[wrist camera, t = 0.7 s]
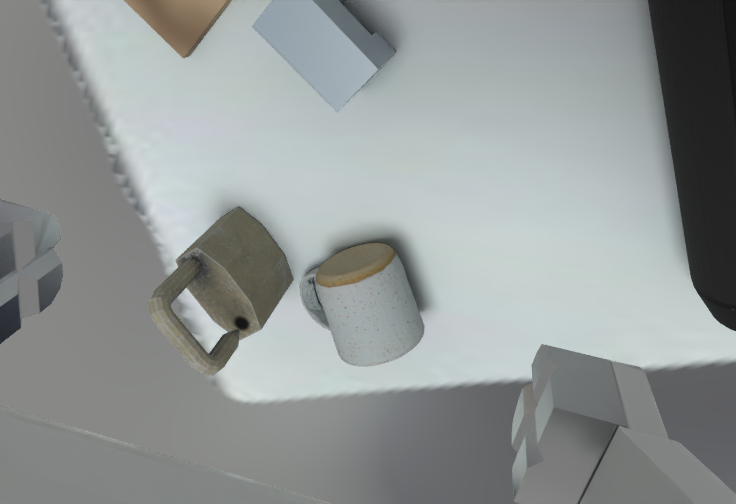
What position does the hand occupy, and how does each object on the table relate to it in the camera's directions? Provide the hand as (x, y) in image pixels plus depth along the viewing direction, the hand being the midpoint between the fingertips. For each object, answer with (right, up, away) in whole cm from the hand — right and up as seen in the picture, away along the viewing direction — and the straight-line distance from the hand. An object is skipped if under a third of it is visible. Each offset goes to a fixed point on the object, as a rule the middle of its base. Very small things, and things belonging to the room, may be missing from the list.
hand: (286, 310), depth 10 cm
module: (-1, +17, +35) cm, 39 cm away
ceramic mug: (+1, -2, +45) cm, 45 cm away
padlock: (-9, +1, +45) cm, 46 cm away
